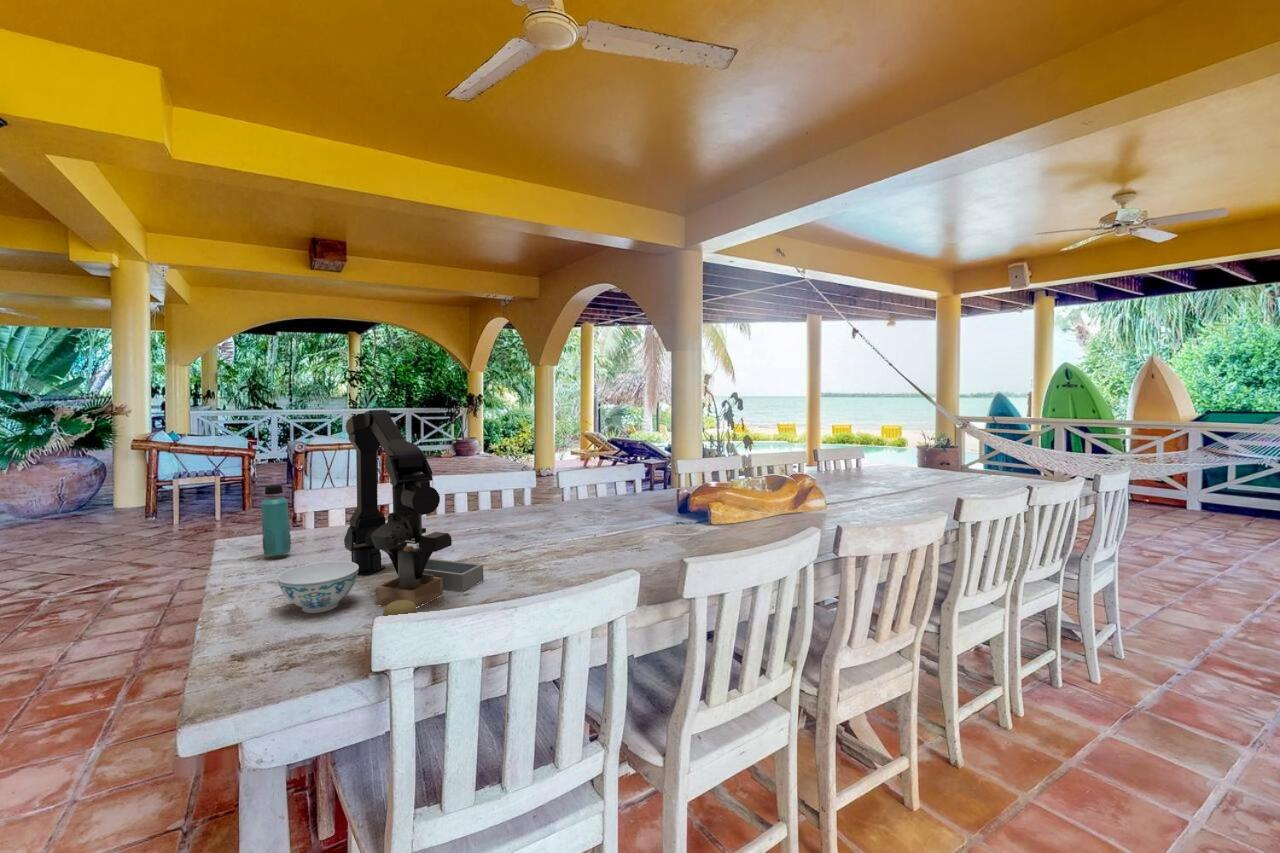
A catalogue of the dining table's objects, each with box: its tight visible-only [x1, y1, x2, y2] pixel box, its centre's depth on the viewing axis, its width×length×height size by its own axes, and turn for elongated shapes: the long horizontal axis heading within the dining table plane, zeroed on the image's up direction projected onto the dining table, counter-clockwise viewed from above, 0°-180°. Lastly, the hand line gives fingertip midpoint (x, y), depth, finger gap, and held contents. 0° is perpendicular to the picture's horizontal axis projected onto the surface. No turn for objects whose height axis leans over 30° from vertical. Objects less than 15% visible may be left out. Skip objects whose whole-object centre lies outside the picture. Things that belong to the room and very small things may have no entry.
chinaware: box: [276, 560, 359, 614], centre depth 122 cm, size 15×15×8 cm
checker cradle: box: [374, 573, 444, 607], centre depth 126 cm, size 10×10×4 cm
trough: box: [423, 558, 485, 592], centre depth 137 cm, size 16×8×4 cm, turn 71°
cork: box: [382, 600, 420, 676], centre depth 96 cm, size 6×6×11 cm
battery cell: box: [397, 545, 420, 591], centre depth 126 cm, size 4×4×9 cm
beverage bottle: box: [260, 484, 292, 556], centre depth 158 cm, size 6×7×20 cm
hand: (409, 577), depth 126 cm, fingers closed on battery cell, 4 cm apart
